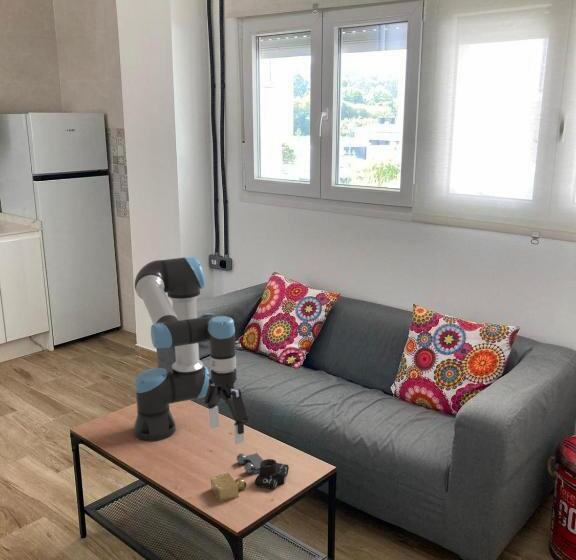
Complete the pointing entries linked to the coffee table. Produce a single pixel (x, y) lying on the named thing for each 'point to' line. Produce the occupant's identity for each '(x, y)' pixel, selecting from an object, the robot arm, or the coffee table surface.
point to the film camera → (271, 474)
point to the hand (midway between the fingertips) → (226, 434)
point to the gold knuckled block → (226, 486)
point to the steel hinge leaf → (250, 463)
